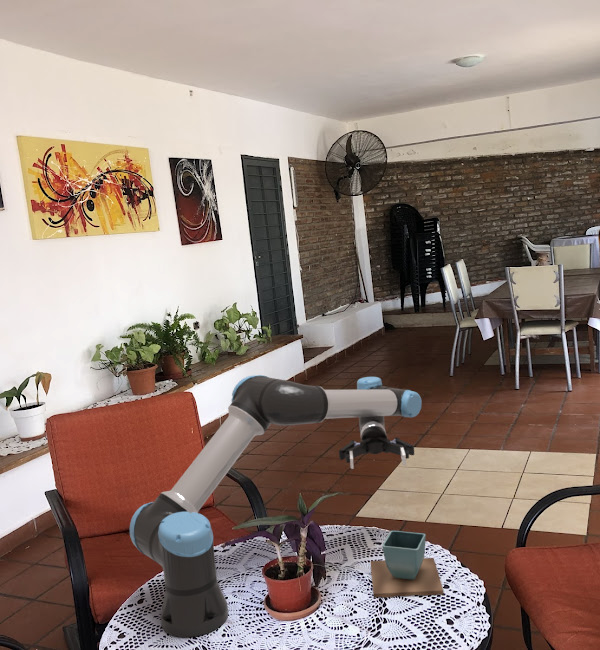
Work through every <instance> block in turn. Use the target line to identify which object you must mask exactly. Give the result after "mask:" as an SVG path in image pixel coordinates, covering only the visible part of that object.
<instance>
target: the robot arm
mask: <svg viewBox="0 0 600 650" xmlns="http://www.w3.org/2000/svg"><path fill="white" fill-rule="evenodd" d="M231 396H232V398H231V403H230V404H229V406H228V408H227V409H228V410H227V411H228V417H227V418H225V420H224V422H223V423H221V426H219V428H218V429H217V431H216V432H215V433H214V435H213V436H212V437H211V438H210V439H209V441H208V442H207V443H206V444H205V446H204V447H203V448H202V450H201V451H200V453H198V454H197V456H196V457H195V459H194V460H193V461H192V463H191V464H190V465H189V467H188V468H187V469H186V470H185V472H184V473H183V474H182V475H181V476H180V477H179V479H178V480H177V482H175V484H174V485H173V487H172V488H171V489H170V490H166V491H162V492H160V493H159V495H158V496H157V497H156V498H155V500H154V501H150V502H148V503H145V504H143V505H141V506H140V507H139V508H137V509H136V511H135V512H134V514H133V515H132V517H131V520H130V523H129V536H130V540H131V542H132V543H133V545H134V546H135V547H136V549H137V550H138V551H139V552H140V553H141V554H143V555H144V556H147V557H148V558H150V559H151V560H152V561H154V562H156V563H157V564H159V566H161V568H162V570H163V578H164V587H165V593H164V598H163V603H162V607H161V611H160V620H161V621H160V622H161V628H162V629H163V630H164V632H165V633H167V634H168V635H171V636H174V637H180V638H193V637H199V636H203V635H206V634H208V633H210V632H213V631H215V630H217V629H218V628H220V626H222V625H224V623H225V622H226V621H227V619H228V618H229V617H228V616H229V608H228V602H227V599H226V597H225V595H224V593H223V591H222V589H221V587H220V584H219V583H218V578H217V577H218V576H217V567H216V557H215V548H214V534H213V529H212V525H211V523H210V519H208V518H207V517H206V516H205V515H203V514H201V513H199V512H200V510H201V508H202V507H203V506H204V504H205V503H206V501H208V499H209V498H210V496H211V495H212V494H213V492H214V491H215V490H216V488H217V487H218V486H219V485H220V483H221V481H222V480H223V479H224V477H225V476H226V475H228V472H229V471H230V469H232V467H233V465H234V464H235V463H236V461H237V460H238V459H239V458H240V456H241V455H242V453H243V452H244V451H245V449H246V448H248V446H249V444H250V443H251V442H252V440H253V439H254V437H256V436H262V435H264V434H265V433H266V431H267V429H268V428H269V427H270V426H271V425H276V426H297V425H307V424H309V425H310V424H319V423H322V422H324V420H325V419H326V420H329V419H345V418H346V419H347V418H349V419H350V418H358V420H359V422H358V423H359V432H360V441H359V442H357V441H356V440H354V439H352V440H350V442H349V443H347V444H346V445H345V446H343V447H342V448H340V449H339V450H338V457H339V460H341V461H342V460H345V462H346V463H348V464H349V463H350V464H349V465H350V469H352V470H353V469H354V459H355V458H357V457H359V456H361V455H367V454H370V455H378V454H381V453H386V454H389V453H391V454H395V455H397V456H400V458H401V462H402V466H407V459H410V456H414V455H415V445H414V444H411V443H408V442H407V441H404V440H402V439H400V437H394V439H393V440H390V439H389V438H388V435H387V432H386V428H385V417H390V416H391V417H398V416H400V417H404V418H415V417H416V416H418V415H419V413H420V412H421V409H422V403H423V402H422V398H421V396H420V394H419V393H418V392H416V391H412V390H411V389H403V388H402V389H401V388H396V387H395V388H394V387H389V386H384V385H383V383H382V379H381V378H380V377H377V376H366V377H361V378H359V379H358V380H357V382H356V389H324V388H323V387H322V386H320V385H307V384H302V383H299V382H294V381H290V380H286V379H280V378H275V377H274V378H273V377H269V376H266V375H261V374H258V375H256V374H255V375H249V376H246V377H244V378H242V379H241V380H239V381H238V382H237V384H235V386H234V389H233V390H232V393H231Z"/></svg>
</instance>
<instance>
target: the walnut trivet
mask: <svg viewBox="0 0 600 650" xmlns="http://www.w3.org/2000/svg"><path fill="white" fill-rule="evenodd" d="M370 568H371V569H370V570H371V583H372V591H373V592H372V594H373V599H377V597H382V598H397V597H396V596H402V597H412V596H411V595H422V596H436V595H437V596H438V595H444V589H443V585H442V582H441V579H440V578H441V577H440V574H439V571H438V568H437V564H436V560H435V558H434V557H424V559H423V562H422V565H421V567H420V569H419V571H418V573H417V576H416V578H415V579H414V580H411V579H403V578H395V577H394V576H393V575H392V574H391V573H390V571H389V570H388V568H387V565H386V562H385V559H384V560H370ZM394 596H395V597H394ZM375 597H376V598H375Z"/></svg>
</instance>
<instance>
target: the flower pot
mask: <svg viewBox="0 0 600 650" xmlns="http://www.w3.org/2000/svg"><path fill="white" fill-rule="evenodd" d="M381 547H382V552H383V557H384V560H385V562H386V565H387V568H388V570H389V571H390V573H391V574H392V575H393V576H394V577H395V578H403V579H411V580H414V579H415V578H416V576H417V573H418V571H419V569H420V567H421V565H422V562H423V559H424V558H425V553H426V533H424V532H423V533H421V532H410V531H401V530H391V531H390V532H389V533H388V535H387V537H386V538H385V540H384V542H383V544H382V545H381Z"/></svg>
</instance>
